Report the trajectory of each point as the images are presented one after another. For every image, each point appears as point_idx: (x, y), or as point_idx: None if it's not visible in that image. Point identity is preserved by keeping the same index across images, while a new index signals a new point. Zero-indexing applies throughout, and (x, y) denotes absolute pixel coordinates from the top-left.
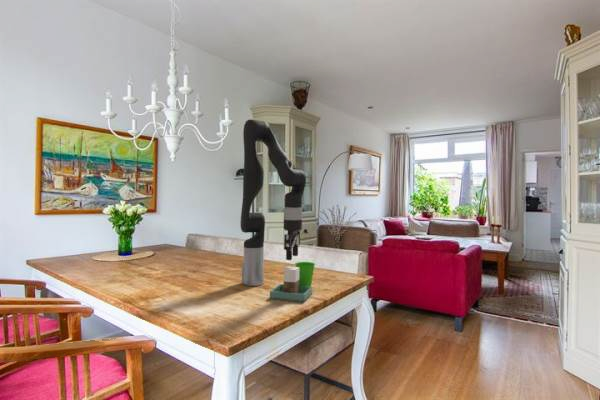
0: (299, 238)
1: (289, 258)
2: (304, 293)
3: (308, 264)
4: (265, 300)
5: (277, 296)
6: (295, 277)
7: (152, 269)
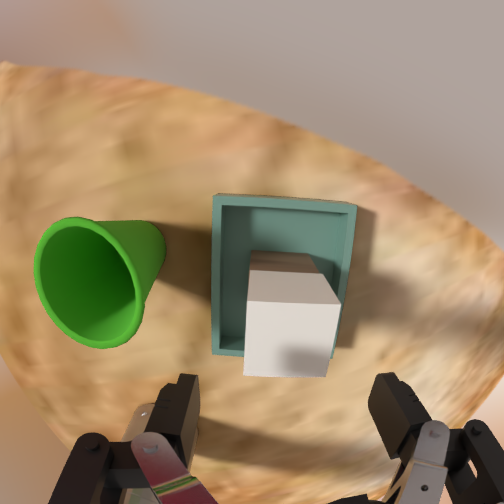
0: (78, 498)
1: (404, 386)
2: (338, 209)
3: (47, 270)
4: (344, 348)
5: None
6: (329, 285)
7: None
